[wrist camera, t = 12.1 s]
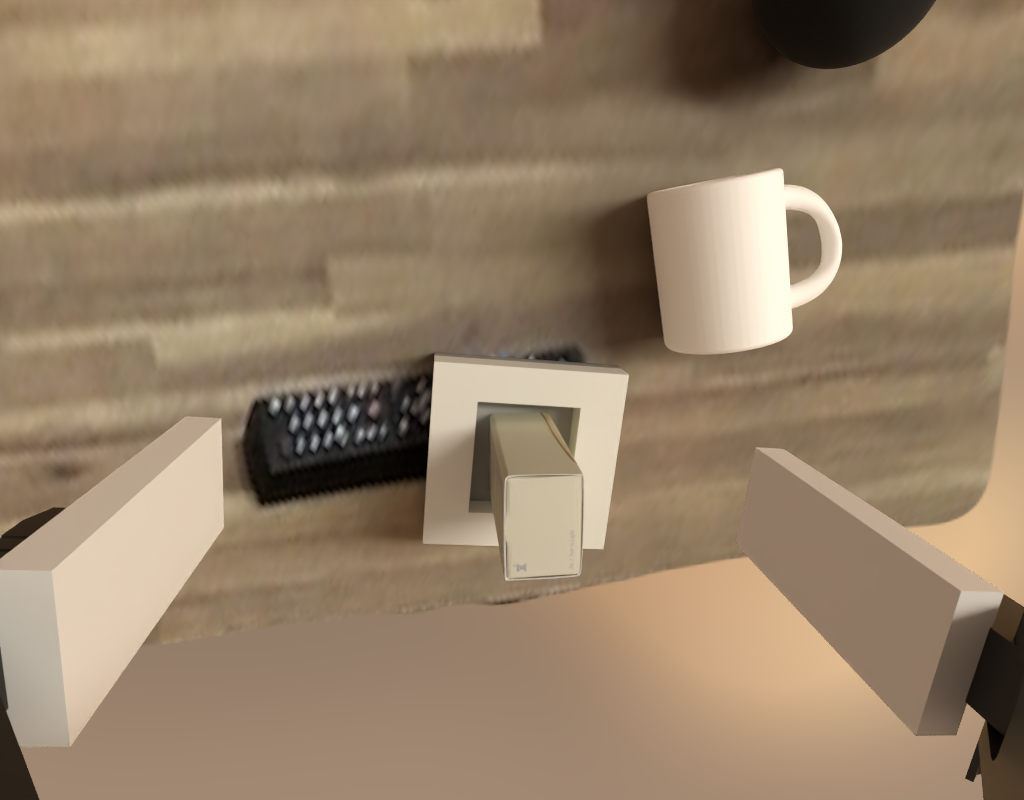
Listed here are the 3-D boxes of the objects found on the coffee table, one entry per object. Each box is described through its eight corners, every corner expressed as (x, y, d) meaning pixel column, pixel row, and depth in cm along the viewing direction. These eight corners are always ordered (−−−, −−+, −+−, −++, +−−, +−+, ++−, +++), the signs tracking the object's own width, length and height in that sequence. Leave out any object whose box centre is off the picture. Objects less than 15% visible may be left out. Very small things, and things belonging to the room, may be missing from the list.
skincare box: (546, 490, 46) (584, 581, 34) (486, 493, 45) (503, 585, 34) (548, 408, 44) (589, 474, 33) (486, 409, 44) (503, 476, 32)
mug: (648, 339, 45) (692, 363, 37) (630, 196, 42) (672, 189, 34) (807, 305, 46) (882, 322, 38) (800, 162, 43) (879, 148, 35)
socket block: (423, 524, 47) (422, 543, 44) (434, 352, 43) (434, 361, 40) (593, 529, 48) (603, 549, 46) (616, 365, 45) (628, 375, 42)
